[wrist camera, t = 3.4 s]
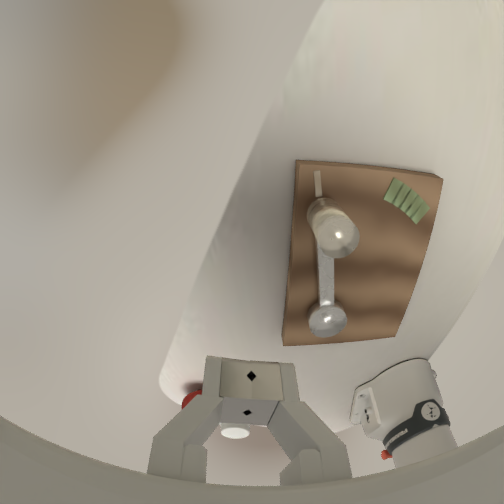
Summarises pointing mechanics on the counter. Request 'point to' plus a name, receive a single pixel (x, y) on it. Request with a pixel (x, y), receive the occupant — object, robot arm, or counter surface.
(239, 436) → the supplement bottle
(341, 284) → the board
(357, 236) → the silver measuring spoon
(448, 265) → the counter surface
